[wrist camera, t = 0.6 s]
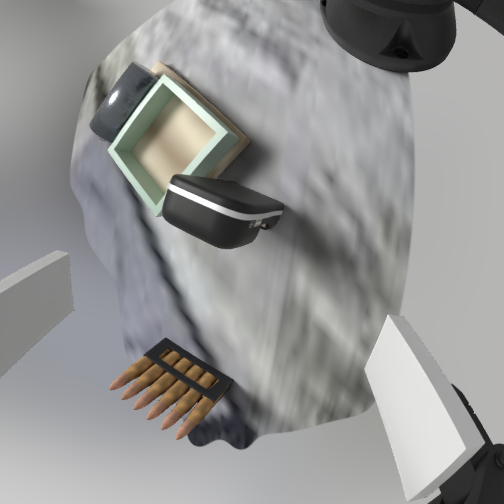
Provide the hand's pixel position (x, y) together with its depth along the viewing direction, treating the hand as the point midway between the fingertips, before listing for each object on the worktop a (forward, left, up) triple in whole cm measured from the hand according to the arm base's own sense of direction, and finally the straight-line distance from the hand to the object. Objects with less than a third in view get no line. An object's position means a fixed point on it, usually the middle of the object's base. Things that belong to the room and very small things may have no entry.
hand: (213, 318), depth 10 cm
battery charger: (+1, -6, -19) cm, 20 cm away
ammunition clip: (+20, +3, -19) cm, 28 cm away
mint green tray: (+2, -20, -19) cm, 28 cm away
